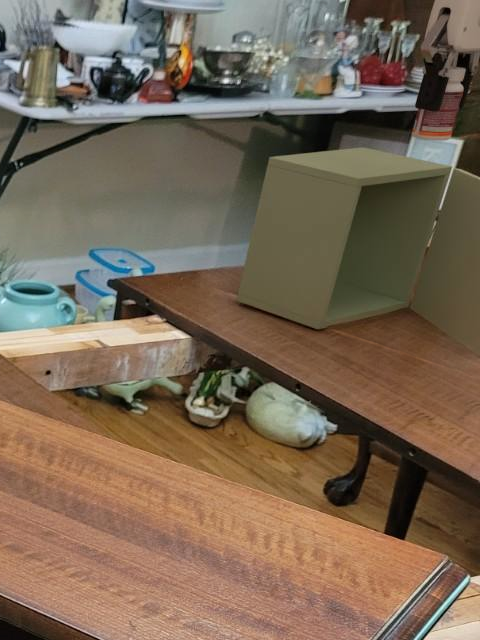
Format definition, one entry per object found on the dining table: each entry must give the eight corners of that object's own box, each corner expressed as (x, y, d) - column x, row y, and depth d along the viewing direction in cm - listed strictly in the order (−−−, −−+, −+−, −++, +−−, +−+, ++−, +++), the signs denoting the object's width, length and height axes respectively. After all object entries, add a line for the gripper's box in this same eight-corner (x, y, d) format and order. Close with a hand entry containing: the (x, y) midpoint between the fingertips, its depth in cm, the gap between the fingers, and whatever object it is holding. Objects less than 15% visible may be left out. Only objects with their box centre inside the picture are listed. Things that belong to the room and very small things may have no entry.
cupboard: (407, 308, 183) (452, 166, 171) (317, 329, 170) (359, 178, 158) (326, 282, 193) (363, 147, 181) (236, 300, 181) (269, 156, 169)
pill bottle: (458, 140, 143) (477, 69, 139) (428, 141, 142) (447, 70, 137) (432, 134, 147) (451, 65, 143) (403, 135, 146) (420, 65, 141)
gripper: (478, -55, 126) (428, 117, 136) (552, -52, 135) (500, 109, 144) (418, -58, 131) (375, 107, 141) (493, -55, 140) (447, 100, 149)
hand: (439, 106), depth 142 cm, fingers closed on pill bottle, 4 cm apart
